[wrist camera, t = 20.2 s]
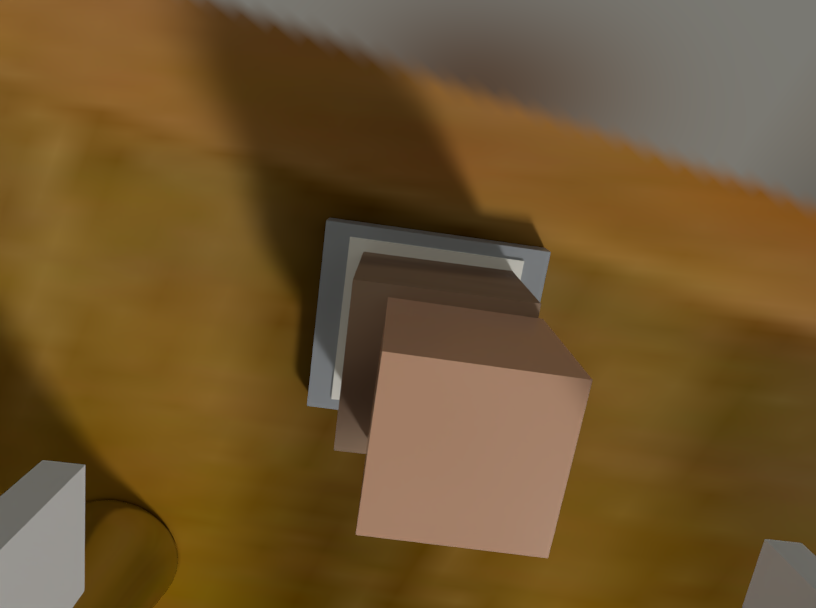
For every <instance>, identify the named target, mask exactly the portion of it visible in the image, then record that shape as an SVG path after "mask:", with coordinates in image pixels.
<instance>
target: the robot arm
mask: <svg viewBox="0 0 816 608" xmlns="http://www.w3.org/2000/svg"><path fill="white" fill-rule="evenodd" d="M84 589H85V465H84V464H75V463H65V462H56V461H47V460H42V461H41V462H40V463H38V464H37V465H36V466H35V467H34V468H33V469H32V470H30V471H29V472H28V473H27V474H26V475H25V476H23V477H22V478H21V479H20V480H19V481H18V482H16V483H15V484H14V485H13V486H12V487H11V488H10V489H8V490H7V491H6V492H5V493H4V494H3V495H1V496H0V608H73V606H74V605H75V604H76V602H77V601H78V599H79V598H80V597H81V595H82V594H83V592H84ZM742 608H816V556H815V555H814V554H813V553H812V552H811V551H810V550H808V549H807V548H806V547H805V546H804V545H803V544H802V543H796V542H787V541H778V540H769V539H765V540H764V543H763V546H762V549H761V552H760V555H759V558H758V561H757V564H756V567H755V570H754V573H753V576H752V579H751V582H750V585H749V588H748V591H747V594H746V597H745V600H744V603H743V606H742Z"/></svg>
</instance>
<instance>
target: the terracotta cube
mask: <svg viewBox="0 0 816 608" xmlns="http://www.w3.org/2000/svg"><path fill="white" fill-rule="evenodd" d="M591 384H592V379H591V378H590V376H589V375H588V374H587V373H586V371H585V370H584V369H583V368H582V367H581V365H580V364H579V363H578V362H577V360H576V359H575V358H574V357H573V355H572V354H571V353H570V352H569V350H568V349H567V348H566V347H565V346H564V344H563V343H562V342H561V341H560V339H559V338H558V337H557V336H556V334H555V333H554V332H553V331H552V329H551V328H550V327H549V326H548V325H547V323H546V322H545V321H544V320H543V319H540V318H533V317H526V316H519V315H512V314H505V313H498V312H491V311H484V310H476V309H469V308H462V307H455V306H448V305H441V304H434V303H427V302H420V301H413V300H406V299H399V298H391V297H388V300H387V307H386V314H385V321H384V328H383V335H382V342H381V349H380V356H379V363H378V369H377V376H376V383H375V390H374V397H373V404H372V411H371V418H370V425H369V432H368V439H367V447H366V456H365V464H364V472H363V480H362V488H361V496H360V504H359V512H358V520H357V528H356V535H362V536H370V537H378V538H387V539H395V540H403V541H411V542H419V543H428V544H436V545H444V546H452V547H460V548H469V549H477V550H485V551H493V552H501V553H510V554H518V555H526V556H534V557H542V558H548V556H549V552H550V548H551V544H552V540H553V536H554V532H555V528H556V524H557V520H558V516H559V512H560V508H561V504H562V500H563V496H564V492H565V488H566V484H567V480H568V476H569V472H570V468H571V464H572V460H573V456H574V452H575V448H576V444H577V440H578V436H579V432H580V428H581V424H582V420H583V416H584V412H585V408H586V404H587V400H588V396H589V392H590V388H591Z"/></svg>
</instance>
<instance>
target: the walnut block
mask: <svg viewBox="0 0 816 608" xmlns="http://www.w3.org/2000/svg"><path fill="white" fill-rule="evenodd" d="M388 297H391V298H399V299H406V300H413V301H420V302H427V303H434V304H441V305H448V306H455V307H462V308H469V309H476V310H484V311H491V312H498V313H505V314H512V315H519V316H526V317H533V318H538V316H539V311H540V306H541V303H540V302H539V301H538V300H537V299H536V297H535V296H534V295H533V294H532V293H531V292H530V291H529V289H528V288H527V287H526V286H525V285H524V284H523V283H522V281H521V280H520V279H519V278H518V277H517V276H516V275H515V273H514V272H513V271H509V270H501V269H494V268H486V267H478V266H471V265H463V264H455V263H448V262H440V261H433V260H425V259H417V258H410V257H402V256H394V255H387V254H379V253H371V252H363V254H362V257H361V260H360V262H359V265H358V267H357V270H356V273H355V275H354V278H353V282H352V291H351V300H350V309H349V318H348V327H347V336H346V345H345V354H344V363H343V372H342V381H341V390H340V399H339V408H338V417H337V426H336V435H335V444H334V450H336V451H345V452H354V453H362V454H366V447H367V439H368V432H369V425H370V418H371V411H372V404H373V397H374V390H375V383H376V376H377V369H378V363H379V356H380V349H381V342H382V335H383V328H384V321H385V314H386V307H387V300H388Z"/></svg>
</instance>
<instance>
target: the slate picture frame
mask: <svg viewBox="0 0 816 608" xmlns="http://www.w3.org/2000/svg"><path fill="white" fill-rule="evenodd" d="M363 252H371V253H379V254H387V255H394V256H402V257H410V258H417V259H425V260H433V261H440V262H448V263H455V264H463V265H471V266H478V267H486V268H494V269H501V270H509V271H513V272H514V273H515V275H516V276H517V277H518V278H519V279H520V280H521V281H522V283H523V284H524V285H525V286H526V287H527V288H528V289H529V291H530V292H531V293H532V294H533V295H534V296H535V297H536V299H537V300H538V301H539V302H540V301H541V296H542V291H543V286H544V282H545V277H546V272H547V267H548V262H549V258H550V253H551V252H550V251H549V250H547V249H546V248H542V247H535V246H528V245H521V244H514V243H507V242H500V241H493V240H486V239H479V238H472V237H464V236H457V235H450V234H443V233H436V232H429V231H422V230H415V229H408V228H401V227H394V226H387V225H379V224H372V223H365V222H358V221H351V220H344V219H337V218H330V217H329V218H328V219H327V220H326V228H325V238H324V247H323V257H322V266H321V276H320V286H319V295H318V305H317V314H316V324H315V333H314V343H313V353H312V362H311V372H310V381H309V391H308V400H307V406H313V407H321V408H329V409H337V410H338V408H339V399H340V390H341V381H342V372H343V363H344V354H345V345H346V336H347V327H348V318H349V309H350V300H351V291H352V282H353V278H354V275H355V273H356V270H357V267H358V265H359V262H360V260H361V257H362V254H363Z"/></svg>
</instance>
